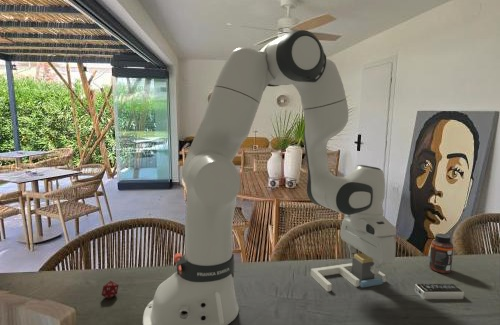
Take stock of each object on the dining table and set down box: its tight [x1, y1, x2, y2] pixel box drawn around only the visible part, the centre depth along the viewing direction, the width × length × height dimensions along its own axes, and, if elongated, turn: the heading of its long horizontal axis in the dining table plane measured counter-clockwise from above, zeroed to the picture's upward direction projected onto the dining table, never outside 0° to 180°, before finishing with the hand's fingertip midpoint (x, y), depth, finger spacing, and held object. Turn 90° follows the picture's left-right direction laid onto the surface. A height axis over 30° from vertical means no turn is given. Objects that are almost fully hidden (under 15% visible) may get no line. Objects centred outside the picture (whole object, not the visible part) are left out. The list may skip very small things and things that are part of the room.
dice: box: [101, 280, 119, 300], centre depth 78 cm, size 4×4×4 cm
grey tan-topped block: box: [351, 252, 375, 284], centre depth 89 cm, size 4×4×7 cm
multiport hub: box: [414, 283, 465, 300], centre depth 81 cm, size 4×11×2 cm, turn 91°
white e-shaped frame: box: [310, 262, 387, 293], centre depth 89 cm, size 19×10×2 cm, turn 107°
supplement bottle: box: [428, 233, 454, 274], centre depth 95 cm, size 6×6×11 cm
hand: (363, 265), depth 89 cm, fingers open, 8 cm apart
